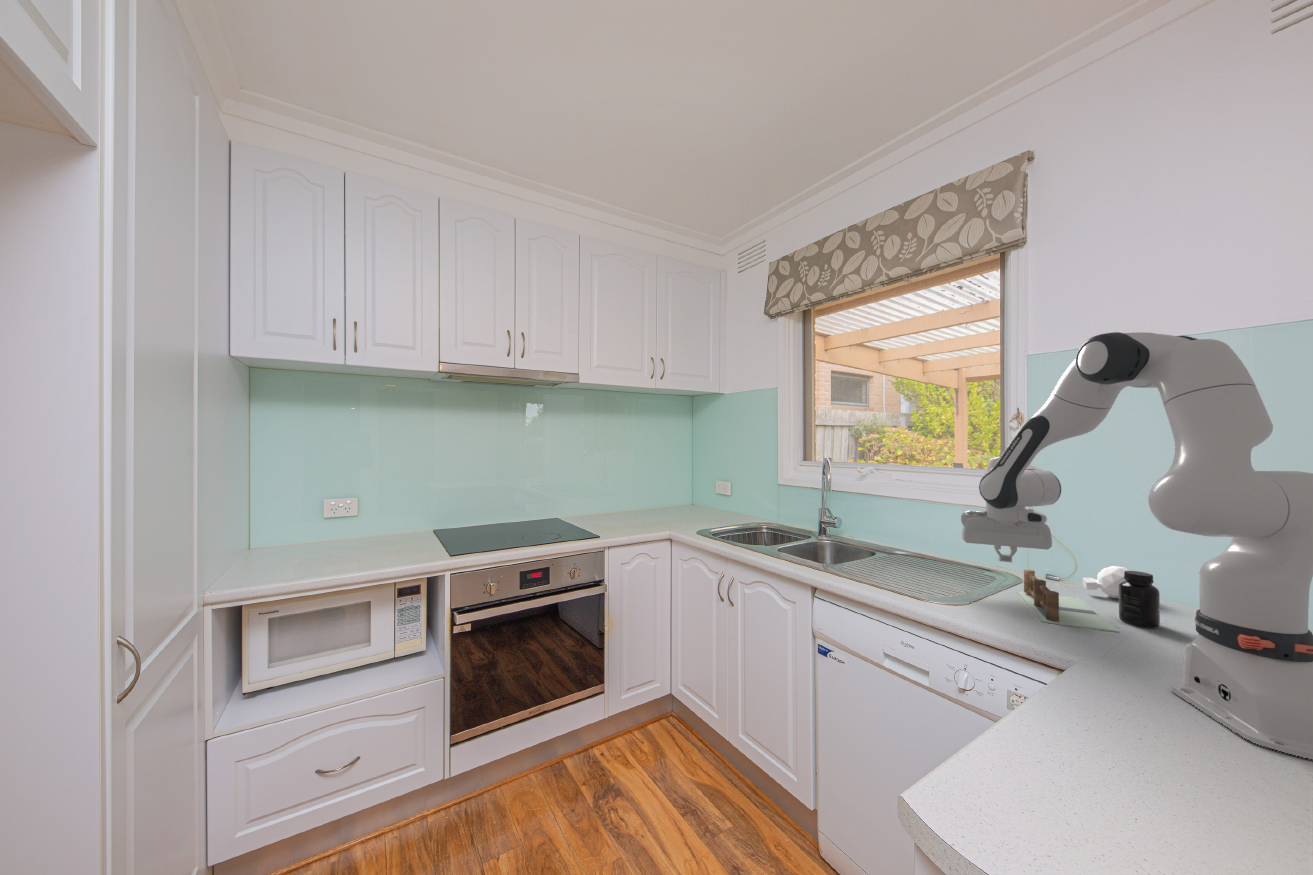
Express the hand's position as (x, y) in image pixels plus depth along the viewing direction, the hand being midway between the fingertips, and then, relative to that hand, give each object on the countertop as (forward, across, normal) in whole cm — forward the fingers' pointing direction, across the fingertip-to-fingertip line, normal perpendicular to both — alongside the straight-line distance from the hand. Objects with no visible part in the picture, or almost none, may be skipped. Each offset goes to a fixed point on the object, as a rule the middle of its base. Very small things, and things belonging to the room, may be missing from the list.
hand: (1004, 561), depth 131 cm
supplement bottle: (+10, +24, -10) cm, 28 cm away
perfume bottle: (+10, +26, +10) cm, 30 cm away
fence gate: (+9, +6, -1) cm, 11 cm away
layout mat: (+9, +11, -8) cm, 16 cm away
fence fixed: (+9, +6, -12) cm, 17 cm away
